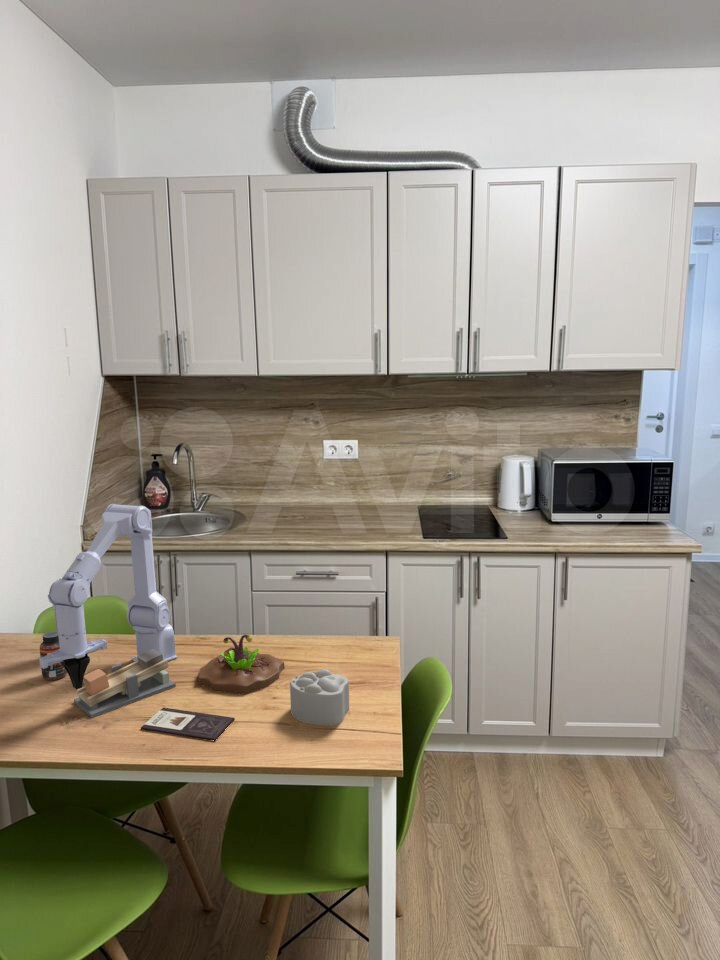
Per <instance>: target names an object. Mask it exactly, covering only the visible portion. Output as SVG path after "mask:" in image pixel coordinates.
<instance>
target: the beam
mask: <svg viewBox="0 0 720 960" xmlns="http://www.w3.org/2000/svg"><path fill="white" fill-rule="evenodd" d="M136 656H137V655H136ZM137 659H138V660H137V661H135V662H134V661H133V662H131V663H130V664H127V665H125V666H122V668H121V669H119V670H117V671H115V672H113V673H112V672H110V673H108V674H106V675H107V679H108V683H109V687H108V688H106V689H104V690H102V691H100V692H98V693H96V694H94V695H90V694H89V693H88V692H86V688H85V685H84V686H82V688H80V689H76V691H77V694H78V697H80V698H81V699H82V700H83V701H84V702H85V703H87V704H88V705H89V706H90V707H91V706H93V705H95V704H97V703H99V702H101V701H103V700H105V699H107V698H109V697H111V696H113V695H115V694H117V693H121V694H122V695H125V694H126V691H125V689H127V683H126V677H129V676H132V675H135V674H136V675H137V678H138V687H140V686H141V684H140V682H141V681H143V680H144V679H146V678H148V677H150V676H152V675H154V674H156V673H158V672H160V671H162V670H167V669H168V668H169V663H168V662H169V661H167V660H166V659H165V660H163V656H162V654H161V653H159V652H158V651H156V650H155V649H151V650H149V651H147V652H145V653H143V654H141V655H139V656H137Z"/></svg>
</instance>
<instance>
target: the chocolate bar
mask: <svg viewBox="0 0 720 960" xmlns="http://www.w3.org/2000/svg"><path fill="white" fill-rule="evenodd" d="M234 721H235V717H233V716H224V715H219V714H211V713H205V712H204V713H203V712H197V711H191V710H189V711H188V710H183V709H176V708H169V707H162V708H160V710H158V711H157V712H156V714H154V715H153V716H152V717H151V718H150V719H149V720H148V721H145V723H144V724H143V725H142V726H140V730H141V731H146V732H152V733H153V732H154V733H159V734H166V735H171V736H178V737H185V738H190V737H191V738H192V739H196V738H198V739H197V740H203V739H206V740H205V741H209V740H214V741H213V742H217V740H218V739H219V738H220V737H221V736H222V735H223V734H224V733H225V731H226V730H227V729H228V728H229V727H230V726H231V725H232V724H233V722H234ZM231 723H232V724H231ZM230 724H231V725H230ZM229 725H230V726H229ZM228 726H229V727H228ZM227 727H228V728H227ZM226 728H227V729H226ZM225 729H226V730H225ZM222 733H223V734H222ZM221 734H222V735H221ZM220 735H221V736H220ZM219 736H220V737H219ZM218 737H219V738H218ZM217 738H218V739H217ZM216 739H217V740H216Z"/></svg>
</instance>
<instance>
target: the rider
mask: <svg viewBox="0 0 720 960" xmlns="http://www.w3.org/2000/svg"><path fill="white" fill-rule="evenodd" d="M107 675H108V674H107V673H106V672H104V671H103V670H101V669H100V668H98V669H97V668H96V670H93V671H90V672H89V673H86V674H84V678H83V685H84V686H85V688H86V692H88V693H89V694H90V695H94V694H96V693H98V692H100V691H102V690H104V689H106V688H108V687H109V683H108V679H107Z"/></svg>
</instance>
